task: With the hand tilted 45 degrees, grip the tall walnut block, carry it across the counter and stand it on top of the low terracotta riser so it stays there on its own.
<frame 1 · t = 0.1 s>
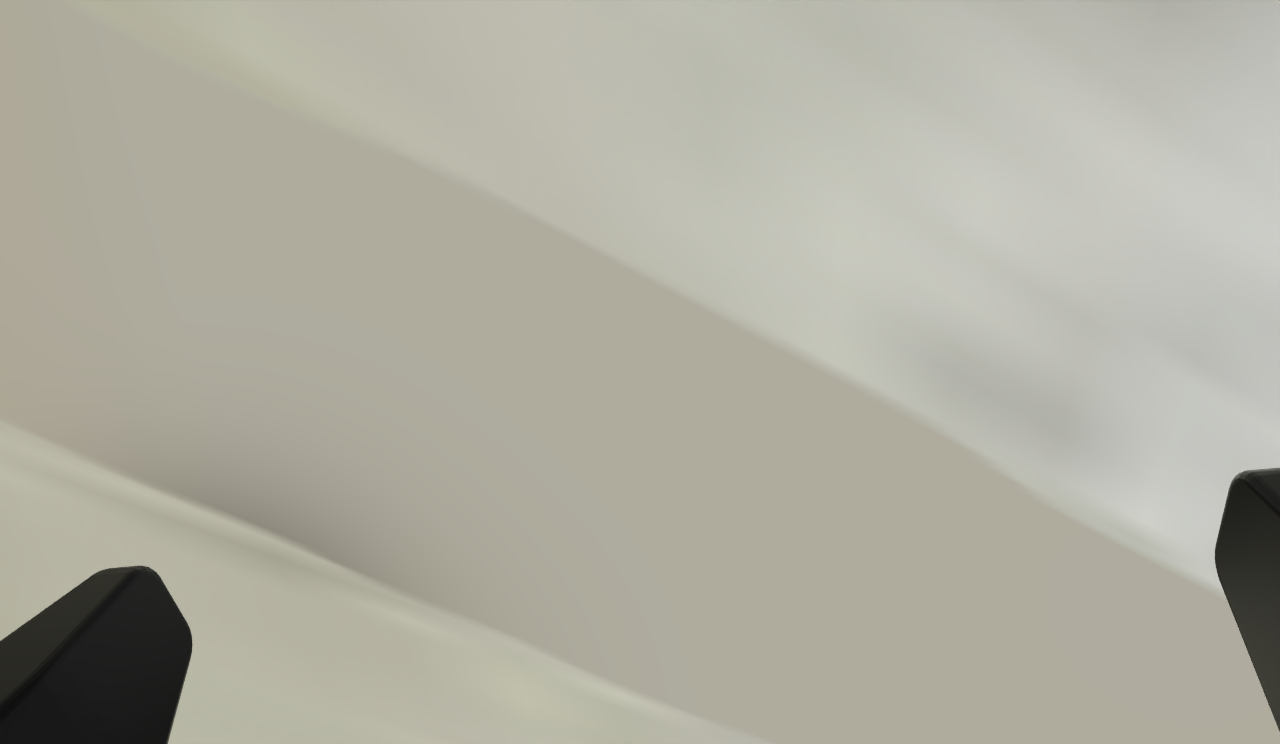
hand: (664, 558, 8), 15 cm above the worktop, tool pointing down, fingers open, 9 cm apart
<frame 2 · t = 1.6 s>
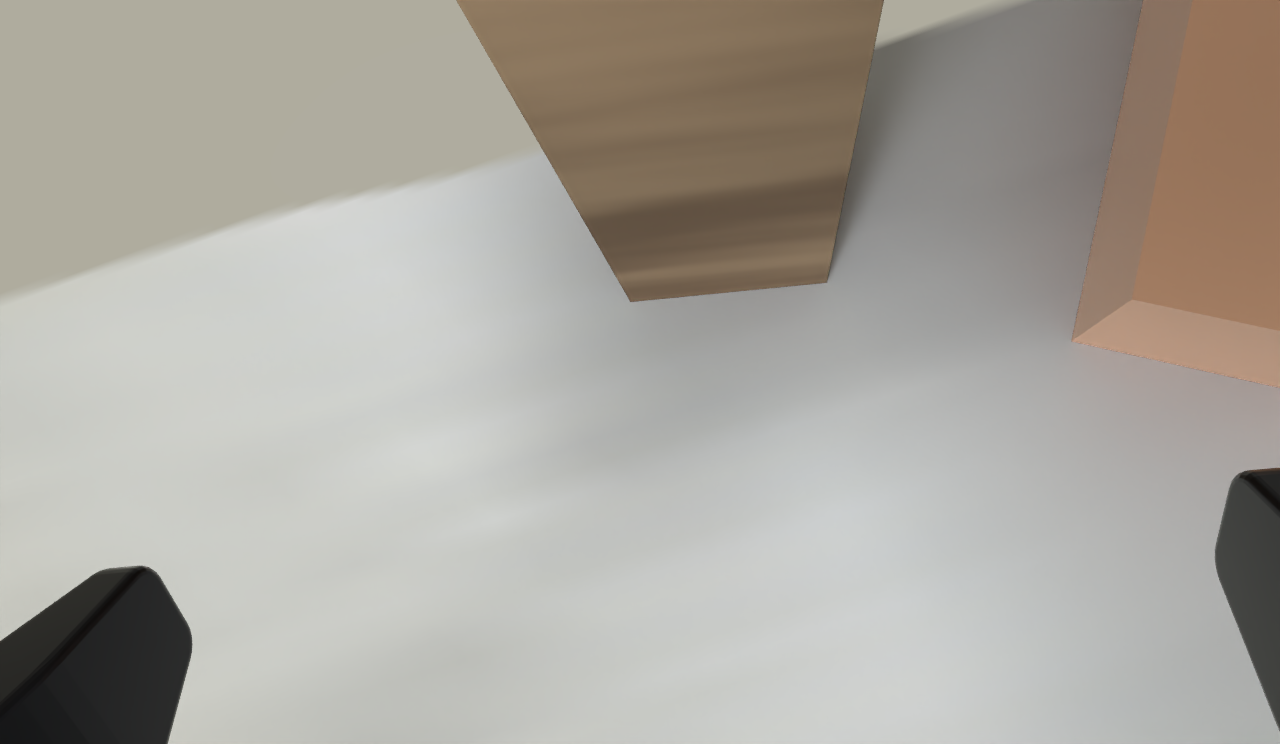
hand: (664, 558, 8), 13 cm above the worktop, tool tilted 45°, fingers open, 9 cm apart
walnut block: (719, 199, 23), on the worktop
when the fingers open (12 cm above the worktop, at t = 8.5 s): walnut block drops 2 cm, resting on terracotta riser.
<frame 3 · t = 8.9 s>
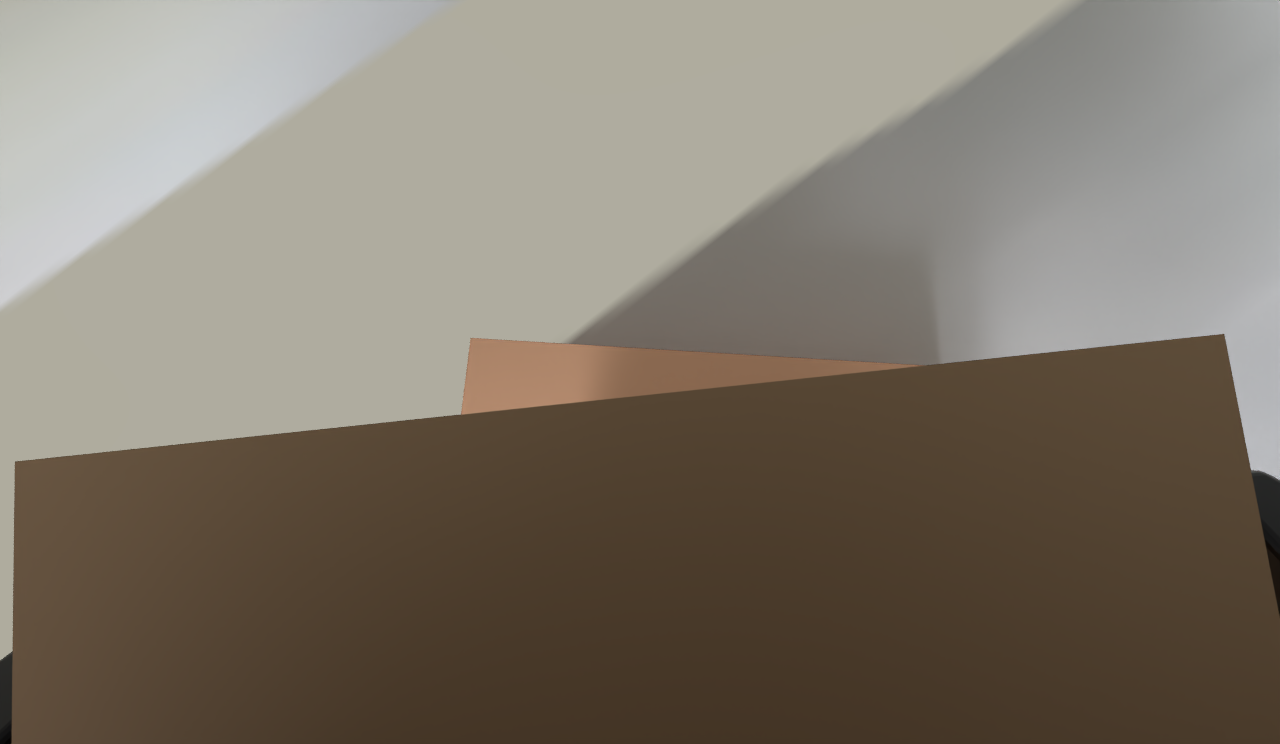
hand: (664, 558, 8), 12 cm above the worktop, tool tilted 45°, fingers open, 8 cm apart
walnut block: (712, 634, 16), point 4 cm above the worktop, touching terracotta riser
terracotta riser: (710, 604, 20), on the worktop, touching walnut block
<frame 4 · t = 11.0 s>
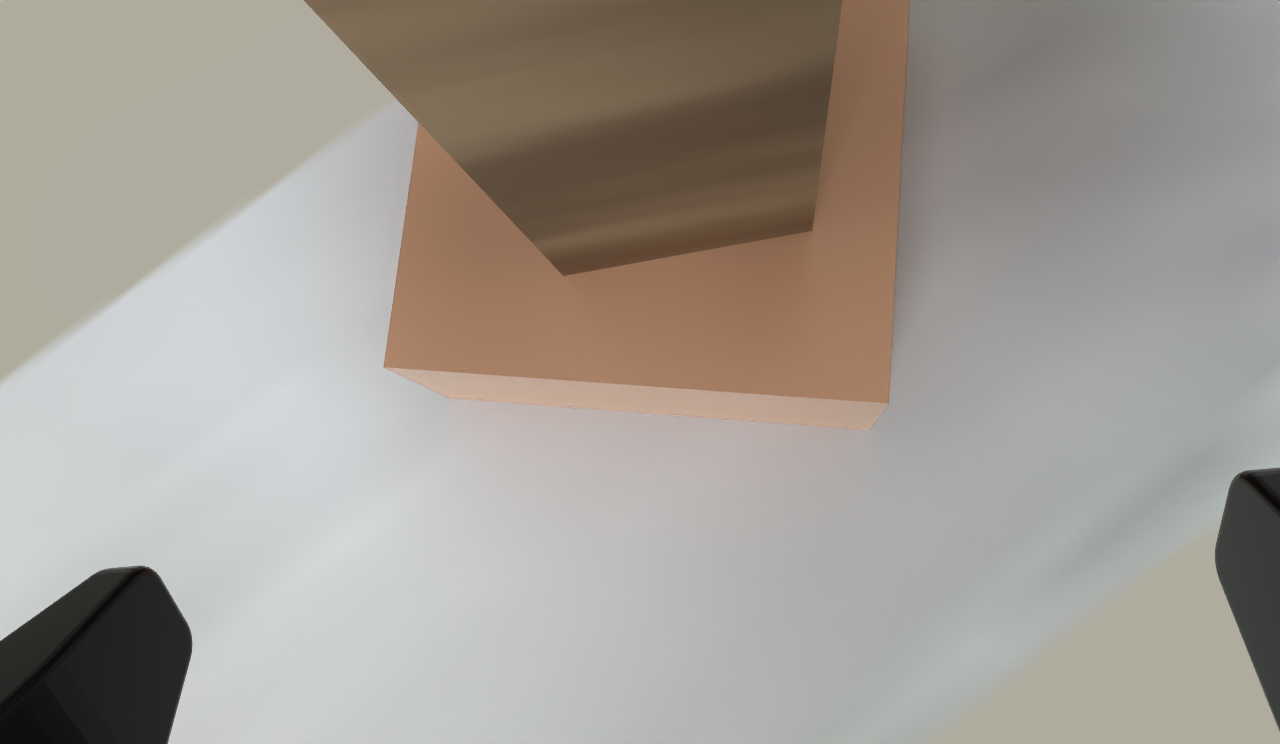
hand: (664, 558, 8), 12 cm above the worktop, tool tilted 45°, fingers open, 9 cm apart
walnut block: (666, 135, 18), point 4 cm above the worktop, touching terracotta riser
terracotta riser: (672, 217, 22), on the worktop, touching walnut block
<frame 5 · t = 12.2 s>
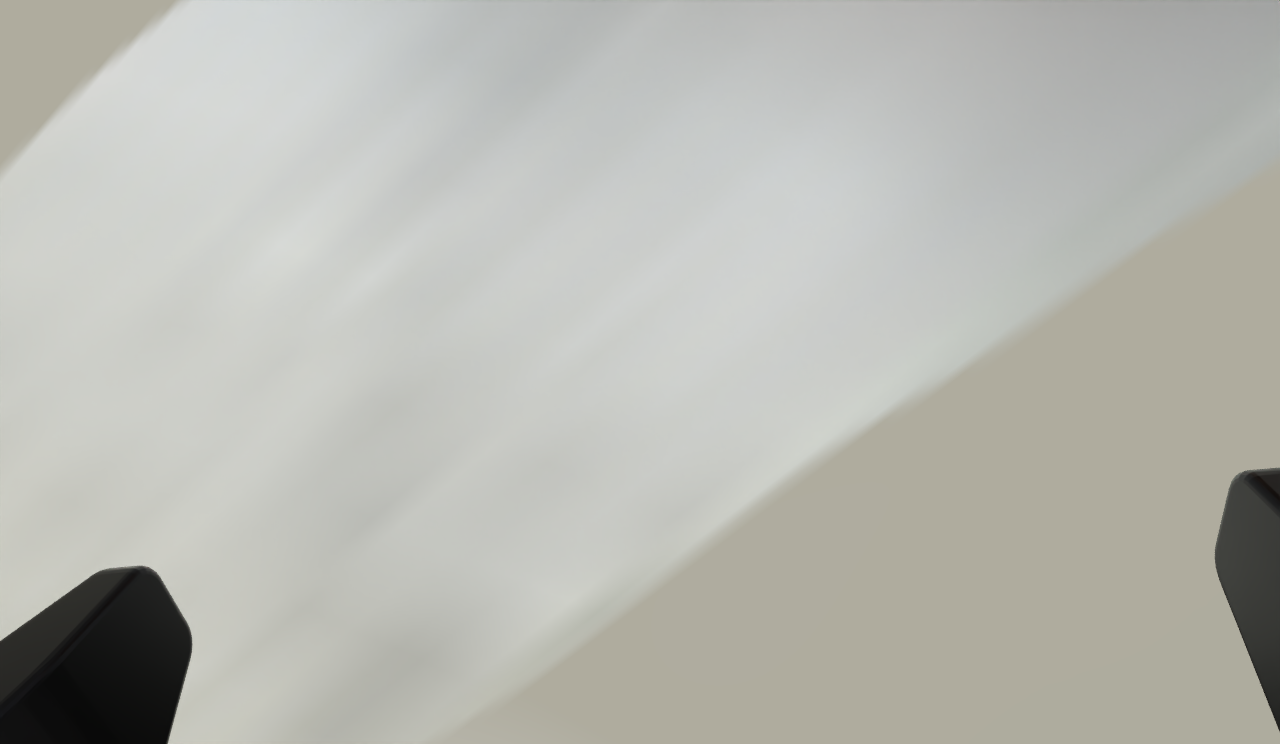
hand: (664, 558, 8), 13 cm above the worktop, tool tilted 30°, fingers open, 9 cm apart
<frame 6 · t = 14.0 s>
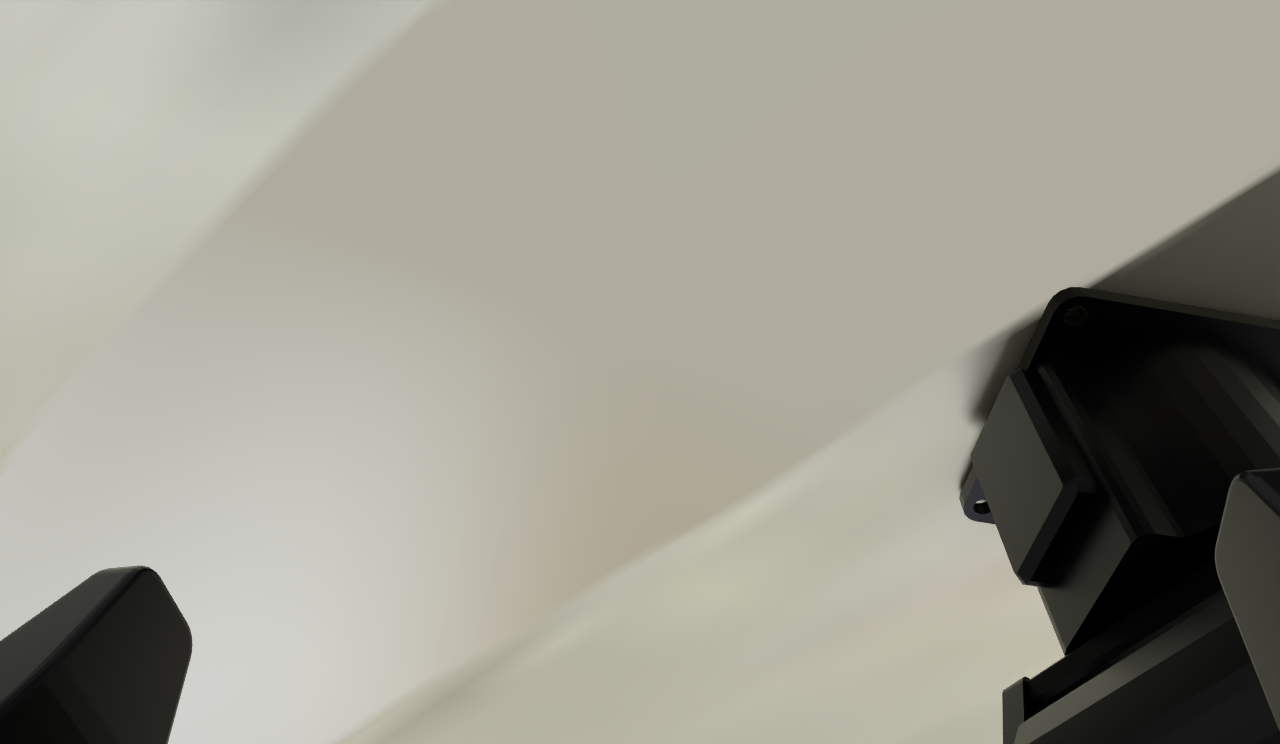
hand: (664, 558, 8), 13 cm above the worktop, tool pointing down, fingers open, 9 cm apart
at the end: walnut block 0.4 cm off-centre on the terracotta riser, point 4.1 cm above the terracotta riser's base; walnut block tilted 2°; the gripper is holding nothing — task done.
